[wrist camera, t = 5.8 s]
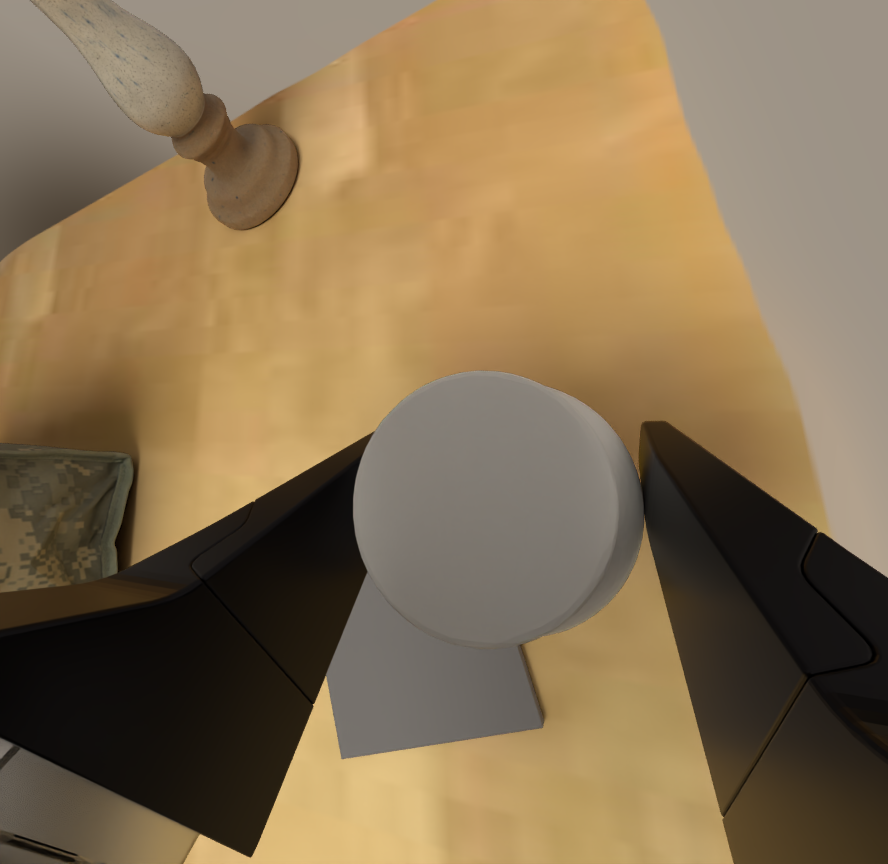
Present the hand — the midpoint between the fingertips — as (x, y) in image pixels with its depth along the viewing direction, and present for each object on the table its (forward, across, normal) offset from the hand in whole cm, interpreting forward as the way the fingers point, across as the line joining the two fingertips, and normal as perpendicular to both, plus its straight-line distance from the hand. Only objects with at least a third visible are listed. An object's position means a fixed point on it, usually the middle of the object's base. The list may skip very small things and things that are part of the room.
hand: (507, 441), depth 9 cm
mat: (+3, +7, +14) cm, 16 cm away
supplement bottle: (+4, 0, +6) cm, 7 cm away
